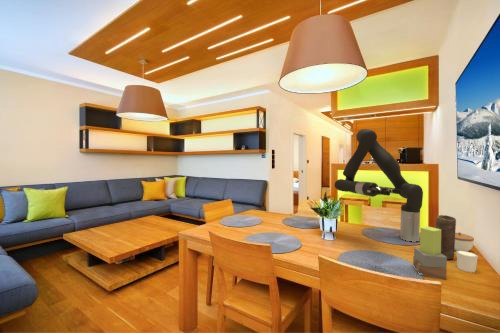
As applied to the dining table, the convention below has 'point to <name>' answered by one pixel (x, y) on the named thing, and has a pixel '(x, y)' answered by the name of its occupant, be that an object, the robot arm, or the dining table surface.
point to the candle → (447, 234)
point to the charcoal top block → (430, 259)
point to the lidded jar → (463, 242)
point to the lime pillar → (430, 240)
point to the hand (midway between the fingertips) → (395, 192)
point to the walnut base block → (430, 270)
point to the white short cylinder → (466, 261)
